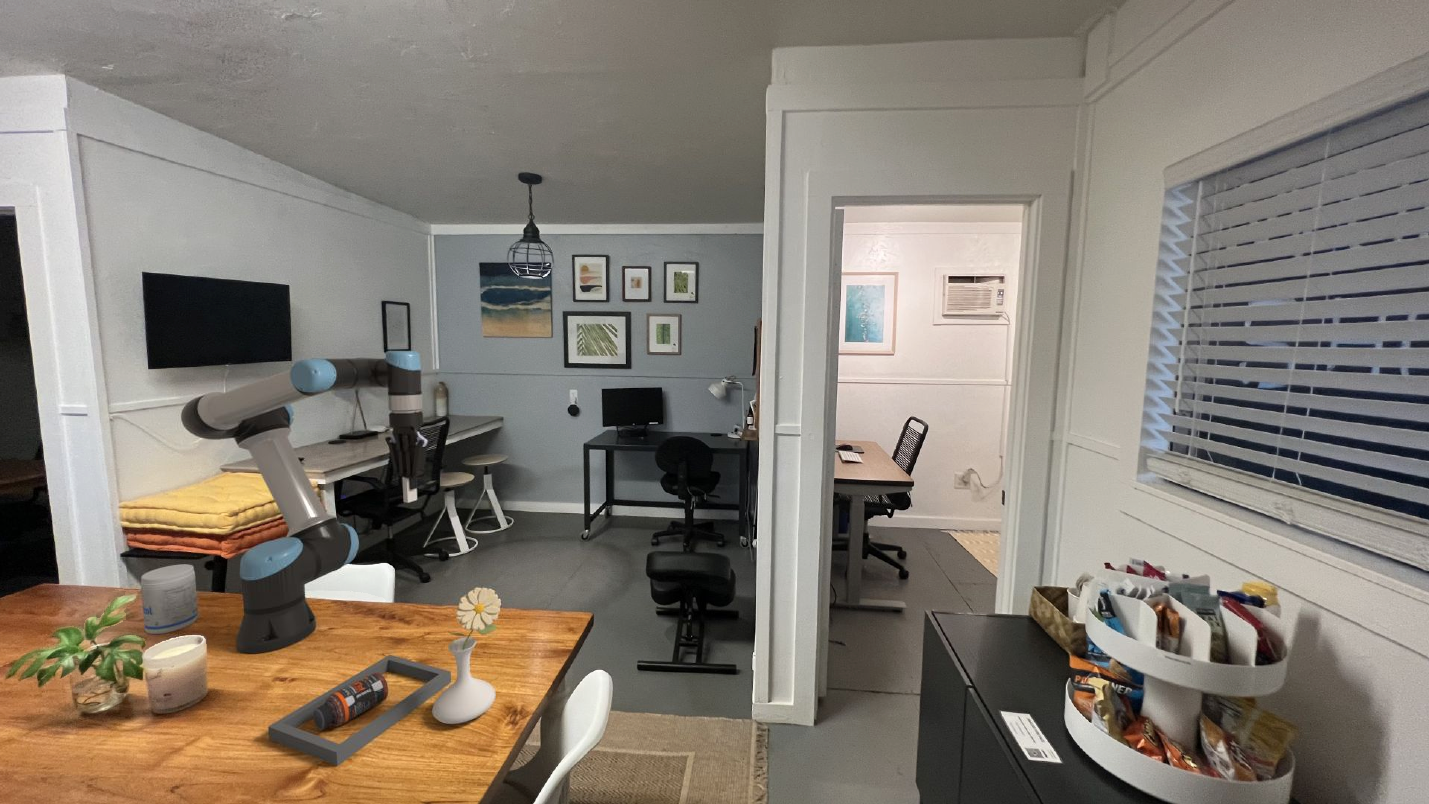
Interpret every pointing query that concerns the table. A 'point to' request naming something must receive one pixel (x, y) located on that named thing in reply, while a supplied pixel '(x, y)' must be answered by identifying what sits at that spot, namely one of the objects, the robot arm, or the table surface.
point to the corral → (338, 753)
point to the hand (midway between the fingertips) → (410, 500)
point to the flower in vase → (468, 692)
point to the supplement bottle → (351, 701)
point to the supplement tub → (169, 598)
